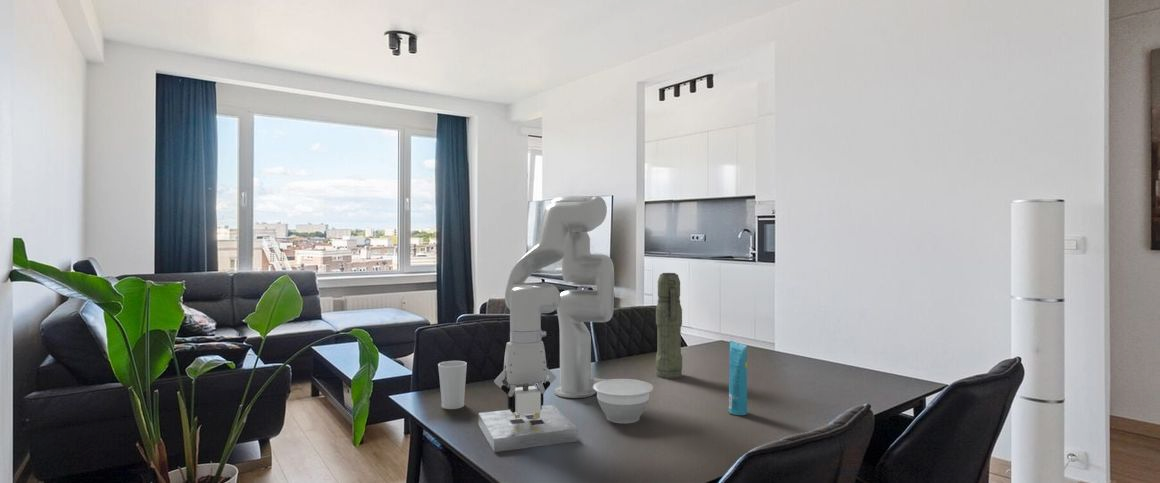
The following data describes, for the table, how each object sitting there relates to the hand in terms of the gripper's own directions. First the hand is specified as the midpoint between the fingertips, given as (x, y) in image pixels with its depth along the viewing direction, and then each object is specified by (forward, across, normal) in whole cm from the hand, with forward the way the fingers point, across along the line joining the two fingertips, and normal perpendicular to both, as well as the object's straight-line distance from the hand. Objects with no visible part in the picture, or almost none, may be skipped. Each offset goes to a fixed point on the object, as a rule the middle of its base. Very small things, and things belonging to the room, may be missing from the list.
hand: (525, 409), depth 145 cm
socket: (+6, 0, 0) cm, 6 cm away
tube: (+6, -58, +5) cm, 59 cm away
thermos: (+5, -60, -38) cm, 71 cm away
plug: (+2, 0, 0) cm, 2 cm away
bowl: (+6, -27, -2) cm, 28 cm away
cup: (+6, +14, -29) cm, 33 cm away
